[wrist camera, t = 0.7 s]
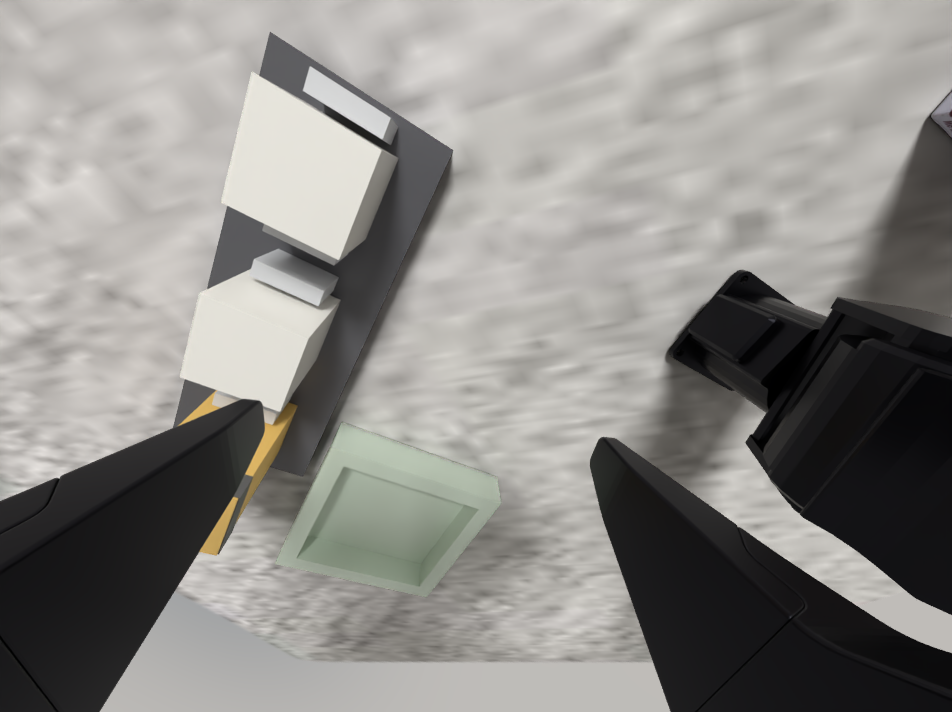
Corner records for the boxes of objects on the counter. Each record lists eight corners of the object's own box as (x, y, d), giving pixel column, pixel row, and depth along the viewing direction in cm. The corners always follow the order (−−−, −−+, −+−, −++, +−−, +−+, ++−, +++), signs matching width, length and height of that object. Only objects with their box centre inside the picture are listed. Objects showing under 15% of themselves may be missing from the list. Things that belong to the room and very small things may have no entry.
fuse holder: (452, 152, 17) (455, 145, 14) (310, 460, 25) (288, 507, 21) (285, 45, 15) (235, 2, 11) (186, 422, 23) (139, 467, 19)
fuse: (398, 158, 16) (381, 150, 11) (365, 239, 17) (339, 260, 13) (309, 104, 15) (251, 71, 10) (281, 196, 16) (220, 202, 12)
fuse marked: (298, 405, 21) (238, 499, 15) (279, 452, 23) (217, 556, 16) (226, 379, 20) (127, 470, 14) (210, 430, 21) (115, 534, 15)
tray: (496, 476, 27) (501, 503, 25) (427, 568, 32) (426, 597, 29) (341, 421, 24) (331, 446, 21) (288, 533, 28) (274, 564, 26)
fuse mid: (340, 299, 18) (308, 338, 14) (316, 360, 20) (280, 412, 15) (261, 263, 17) (199, 293, 13) (241, 330, 19) (179, 376, 14)
